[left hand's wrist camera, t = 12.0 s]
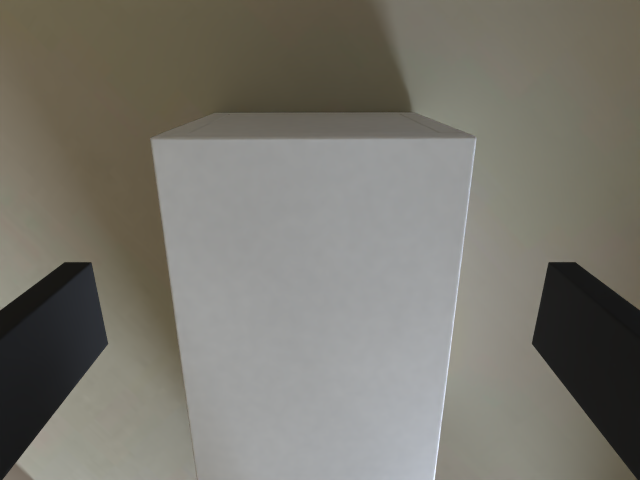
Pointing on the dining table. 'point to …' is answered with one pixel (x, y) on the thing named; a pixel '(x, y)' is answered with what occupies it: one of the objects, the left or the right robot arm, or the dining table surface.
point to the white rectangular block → (314, 288)
